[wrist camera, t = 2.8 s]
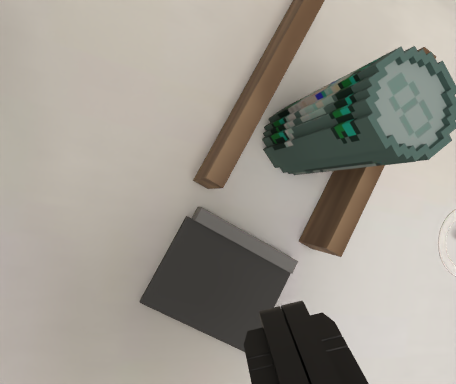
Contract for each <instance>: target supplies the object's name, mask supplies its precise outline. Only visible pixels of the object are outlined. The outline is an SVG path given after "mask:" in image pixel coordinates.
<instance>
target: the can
mask: <svg viewBox="0 0 456 384" xmlns="http://www.w3.org/2000/svg"><path fill="white" fill-rule="evenodd" d="M455 94H456V85H455V83H454V81H453V79H452V78H451V76H450V74H449V72H448V70H447V68H446V66H445V64H444V62H443V61H441V62H439V63H437V62H436V60H435V58H434V56H433V54H432V52H430V53H427V54H426V53H425V52H424V50H423V49H422V50H420V51H417V49H416V47H415V46H414V47H412V48H410V49H408V50H406V51H403V49H402V47H399V48H398V49H396V50H394V51H392V52H390V53H388V54H386V55H384V56H382V57H380V58H378V59H377V60H375V61H373V62H371V63H369V64H367V65H365V66H363V67H361V68H359V69H357V70H356V71H354V72H352V73H350V74H348V75H346V76H344V77H342V78H340V79H338V80H336V81H335V82H333V83H331V84H329V85H327V86H325V87H323V88H321V89H319V90H317V91H315V92H314V93H312V94H310V95H308V96H306V97H304V98H302V99H300V100H298V101H296V102H294V103H293V104H291V105H289V106H287V107H285V108H284V109H282V110H281V111H279V112H278V113H276V114H275V115H273V116H272V117H270V118H269V120H270V122H271V123H270V124H268V125H267V126H265V127H264V128H265V129H266V132H264V133H263V134H264V136H265V138H263V139H262V140H263V142H264V143H265V145H266V148H265V149H263V150H264V151H265V153H266V154H267V156H268V157H269V159H270V161H271V162H272V164H273V165H274V167H275V168H277V167H280V169H281V170H282V172H283V173H284V172H288V174H291V173H293V174H294V175H299V174H308V173H317V172H326V171H335V170H344V169H353V168H362V167H371V166H380V165H389V164H398V163H407V162H416V161H421V160H429V159H430V158H431V157H432V156H434V155H435V154H436V153H437V152H438V151H440V150H441V149H442V148H443V147H444V146H446V145H447V144H448V143H449V142H451V141H452V139H451V137H450V135H449V134H450V133H451V132H452V131H453V130H455V129H456V122H455V120H456V97H455Z"/></svg>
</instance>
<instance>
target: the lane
mask: <svg viewBox="0 0 456 384" xmlns="http://www.w3.org/2000/svg"><path fill="white" fill-rule="evenodd" d="M323 2H324V0H293V2H292V3H291V5H290V7H289V9H288V11H287V12H286V14H285V16H284V18H283V20H282V21H281V23H280V25H279V27H278V29H277V30H276V32H275V34H274V36H273V38H272V39H271V41H270V43H269V45H268V47H267V48H266V50H265V52H264V54H263V56H262V57H261V59H260V61H259V63H258V65H257V66H256V68H255V70H254V72H253V74H252V75H251V77H250V79H249V81H248V83H247V84H246V86H245V88H244V90H243V92H242V93H241V95H240V97H239V99H238V101H237V102H236V104H235V106H234V108H233V110H232V111H231V113H230V115H229V117H228V119H227V120H226V122H225V124H224V126H223V128H222V129H221V131H220V133H219V135H218V137H217V138H216V140H215V142H214V144H213V146H212V147H211V149H210V151H209V153H208V155H207V156H206V158H205V160H204V162H203V164H202V165H201V167H200V169H199V171H198V173H197V174H196V176H195V178H194V180H193V181H195V182H197V183H199V184H200V185H202V186H204V187H206V188H207V189H213V188H223V187H224V185H225V183H226V182H227V180H228V178H229V176H230V174H231V172H232V170H233V169H234V167H235V165H236V163H237V161H238V159H239V158H240V156H241V154H242V152H243V150H244V148H245V146H246V145H247V143H248V141H249V139H250V137H251V135H252V133H253V132H254V130H255V128H256V126H257V124H258V122H259V121H260V119H261V117H262V115H263V113H264V111H265V109H266V108H267V106H268V104H269V102H270V100H271V98H272V97H273V95H274V93H275V91H276V89H277V87H278V85H279V84H280V82H281V80H282V78H283V76H284V74H285V72H286V71H287V69H288V67H289V65H290V63H291V61H292V60H293V58H294V56H295V54H296V52H297V50H298V48H299V47H300V45H301V43H302V41H303V39H304V37H305V36H306V34H307V32H308V30H309V28H310V26H311V24H312V23H313V21H314V19H315V17H316V15H317V13H318V11H319V10H320V8H321V6H322V4H323ZM422 49H423V50H424V52H425V53H426V54H427V53H430V51H429V50H428V49H426V48H425V47H423V48H421V49H419V50H417V51H420V50H422ZM433 56H434V58H435V59H436V56H435V55H434V54H433ZM384 166H385V165H380V166H371V167H362V168H353V169H344V170H335V171H333V173H332V175H331V177H330V179H329V181H328V183H327V185H326V187H325V189H324V191H323V193H322V195H321V197H320V199H319V201H318V203H317V206H316V208H315V210H314V212H313V214H312V216H311V218H310V220H309V222H308V224H307V226H306V228H305V230H304V232H303V234H302V236H301V238H300V240H299V242H301V243H302V244H304V245H306V246H308V247H309V248H311V249H314V250H318V251H322V252H325V253H329V254H332V255H336V256H340V257H341V256H342V254H343V252H344V250H345V248H346V246H347V244H348V242H349V239H350V237H351V235H352V233H353V231H354V229H355V227H356V225H357V223H358V221H359V218H360V216H361V214H362V212H363V210H364V208H365V206H366V204H367V202H368V200H369V197H370V195H371V193H372V191H373V189H374V187H375V185H376V183H377V181H378V178H379V176H380V174H381V172H382V170H383V168H384Z"/></svg>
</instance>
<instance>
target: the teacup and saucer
mask: <svg viewBox="0 0 456 384" xmlns="http://www.w3.org/2000/svg"><path fill="white" fill-rule="evenodd" d="M455 221H456V209H455V210H454V211H453V212H451V213H450V214H449V215H448V217H447V218H446V219H445V221H444V223H443V225H442V227H441V230H440V234H439V241H438V247H439V254H440V257H441V260H442V262H443V264H444V266H445V267H446V269H447V270H448V271H449V272H450V273H451V274H452V275H454V276H455V277H456V265H455V264H454V263H453V262H452V261H451V259H450V258H449V255H448V253H447V248H446V238H447V234H448V231H449V229H450V227H451V225H452V224H453V223H454V222H455Z"/></svg>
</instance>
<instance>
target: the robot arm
mask: <svg viewBox="0 0 456 384" xmlns="http://www.w3.org/2000/svg"><path fill="white" fill-rule="evenodd" d="M259 315H260V320H261V325H262V328H258V329H254V330H250V331H247V334H246V338H245V341H244V349H245V353H246V358H247V363H248V368H249V372H250V377H251V382H252V384H368V382H367V380H366V378H365V376H364V375H363V373H362V371H361V369H360V367H359V365H358V364H357V362H356V360H355V358H354V356H353V355H352V353H351V351H350V349H349V348H348V346H347V344H346V342H345V340H344V338H343V337H342V335H341V333H340V331H339V329H338V327H337V325H336V324H335V322H334V321H333V320H331V319H330V318H329V317H327V316H326V315H325V314H324V313H319V314H314V315H309V313H308V311H307V308H306V306H305V304H304V302H303V301H299V302H294V303H290V304H286V305H282V306H281V308H280V306H278V307H274V308H270V309H266V310H262V311H259Z"/></svg>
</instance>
